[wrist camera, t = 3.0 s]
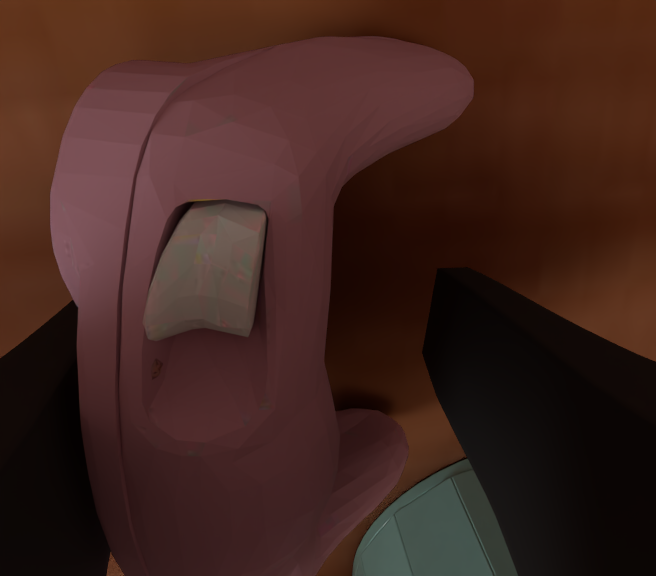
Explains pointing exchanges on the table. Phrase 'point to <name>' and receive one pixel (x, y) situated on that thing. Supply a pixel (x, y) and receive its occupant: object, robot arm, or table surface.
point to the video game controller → (229, 295)
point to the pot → (437, 531)
